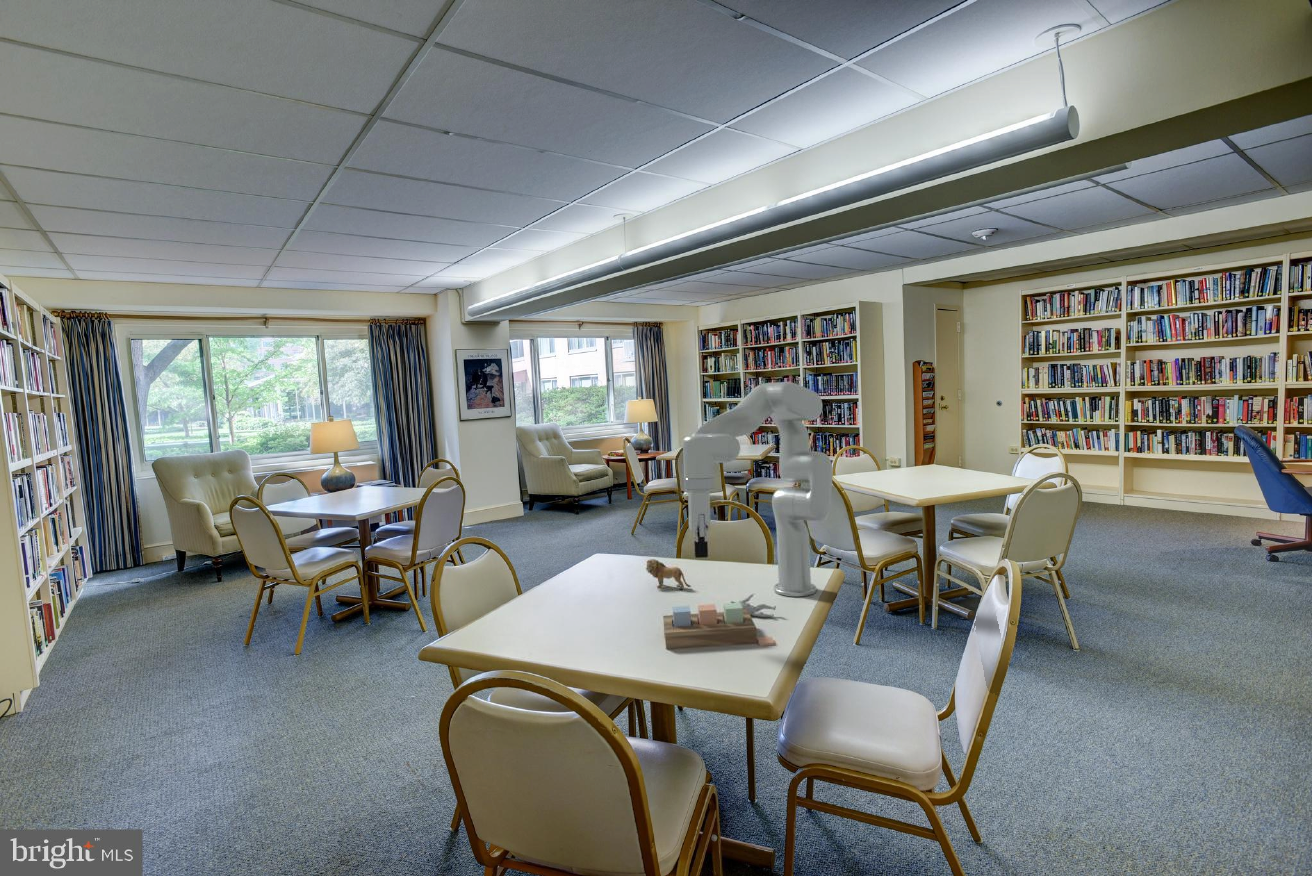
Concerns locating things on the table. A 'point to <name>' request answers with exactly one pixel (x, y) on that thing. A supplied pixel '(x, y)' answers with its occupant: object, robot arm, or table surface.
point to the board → (709, 632)
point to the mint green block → (733, 613)
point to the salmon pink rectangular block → (707, 614)
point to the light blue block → (681, 616)
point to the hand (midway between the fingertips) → (701, 556)
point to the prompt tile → (765, 641)
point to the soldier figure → (755, 608)
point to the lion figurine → (665, 572)
